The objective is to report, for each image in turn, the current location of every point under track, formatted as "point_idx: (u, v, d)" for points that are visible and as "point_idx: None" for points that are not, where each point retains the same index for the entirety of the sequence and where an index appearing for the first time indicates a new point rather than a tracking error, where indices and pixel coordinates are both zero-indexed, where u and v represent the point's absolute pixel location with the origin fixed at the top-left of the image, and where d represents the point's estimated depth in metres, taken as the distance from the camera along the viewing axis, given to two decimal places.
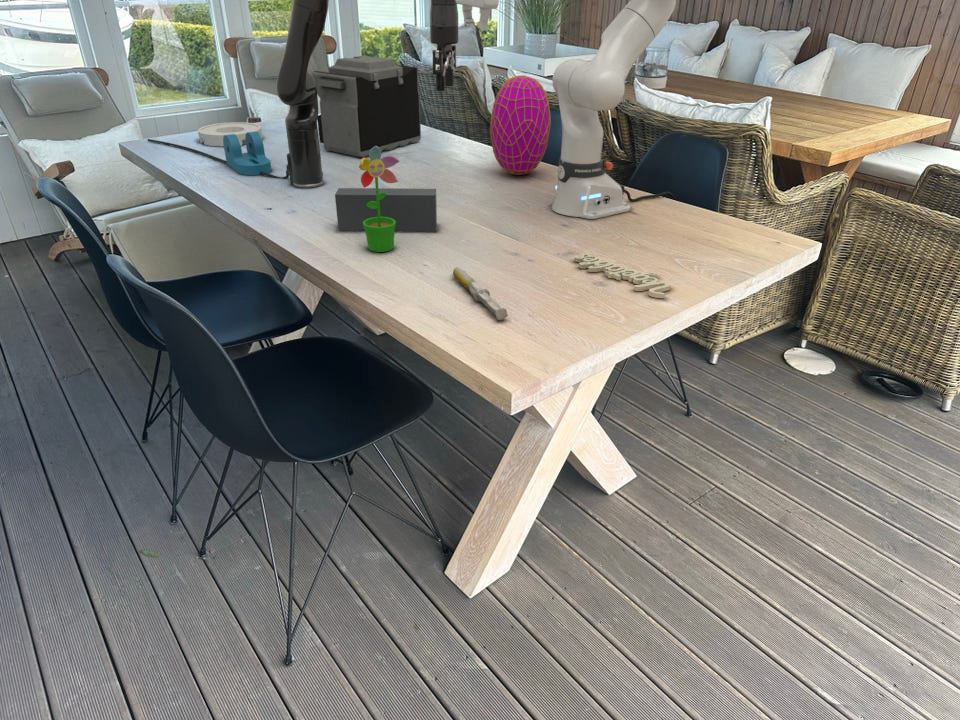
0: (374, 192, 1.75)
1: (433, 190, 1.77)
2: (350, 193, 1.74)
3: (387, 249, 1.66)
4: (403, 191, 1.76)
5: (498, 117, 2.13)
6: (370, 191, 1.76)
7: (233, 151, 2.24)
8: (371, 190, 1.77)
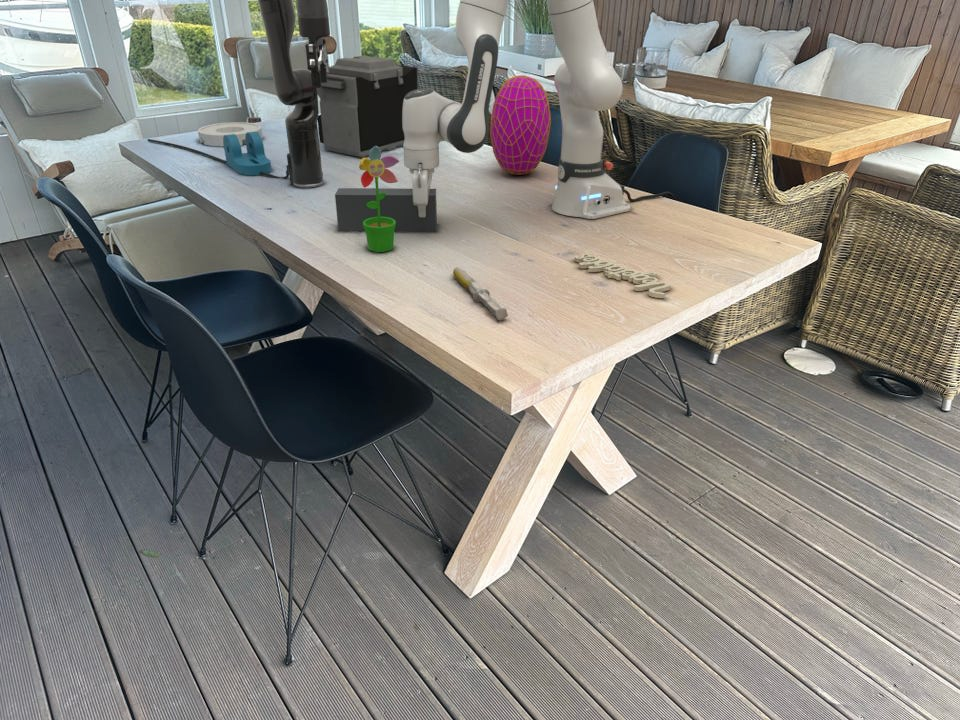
0: (374, 192, 1.75)
1: (433, 190, 1.77)
2: (350, 193, 1.74)
3: (387, 249, 1.66)
4: (403, 191, 1.76)
5: (498, 117, 2.13)
6: (370, 191, 1.76)
7: (233, 151, 2.24)
8: (371, 190, 1.77)
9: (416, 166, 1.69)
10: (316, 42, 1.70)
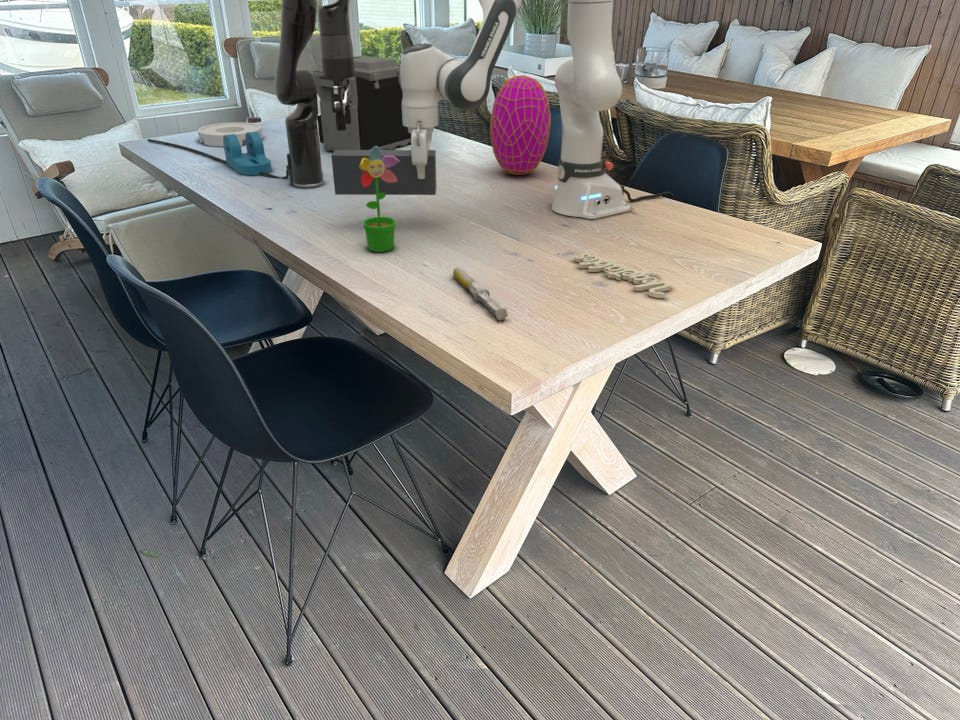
0: None
1: (432, 151, 1.72)
2: (347, 154, 1.69)
3: (387, 249, 1.66)
4: (401, 152, 1.71)
5: (498, 117, 2.13)
6: (367, 152, 1.71)
7: (233, 151, 2.24)
8: (368, 151, 1.72)
9: (415, 125, 1.64)
10: (341, 83, 1.61)
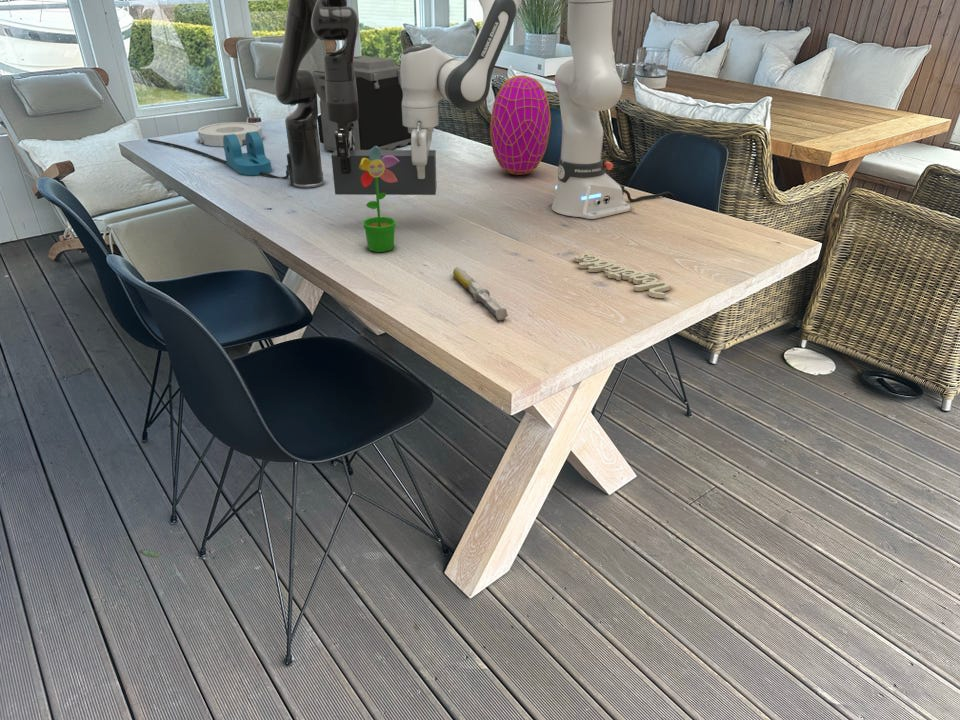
0: None
1: (432, 151, 1.72)
2: None
3: (387, 249, 1.66)
4: (401, 152, 1.71)
5: (498, 117, 2.13)
6: (367, 152, 1.71)
7: (233, 151, 2.24)
8: (369, 151, 1.72)
9: (415, 125, 1.64)
10: (345, 128, 1.64)
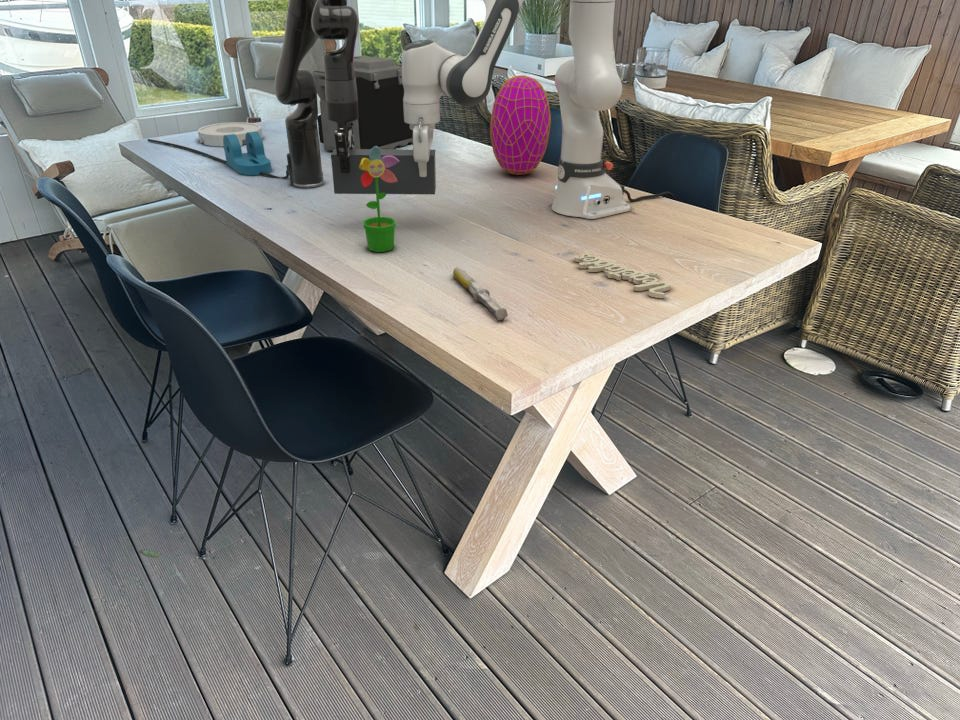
0: None
1: (432, 151, 1.73)
2: None
3: (387, 249, 1.66)
4: (401, 152, 1.71)
5: (498, 117, 2.13)
6: (367, 151, 1.71)
7: (233, 151, 2.24)
8: (368, 151, 1.72)
9: (416, 121, 1.63)
10: (345, 127, 1.64)
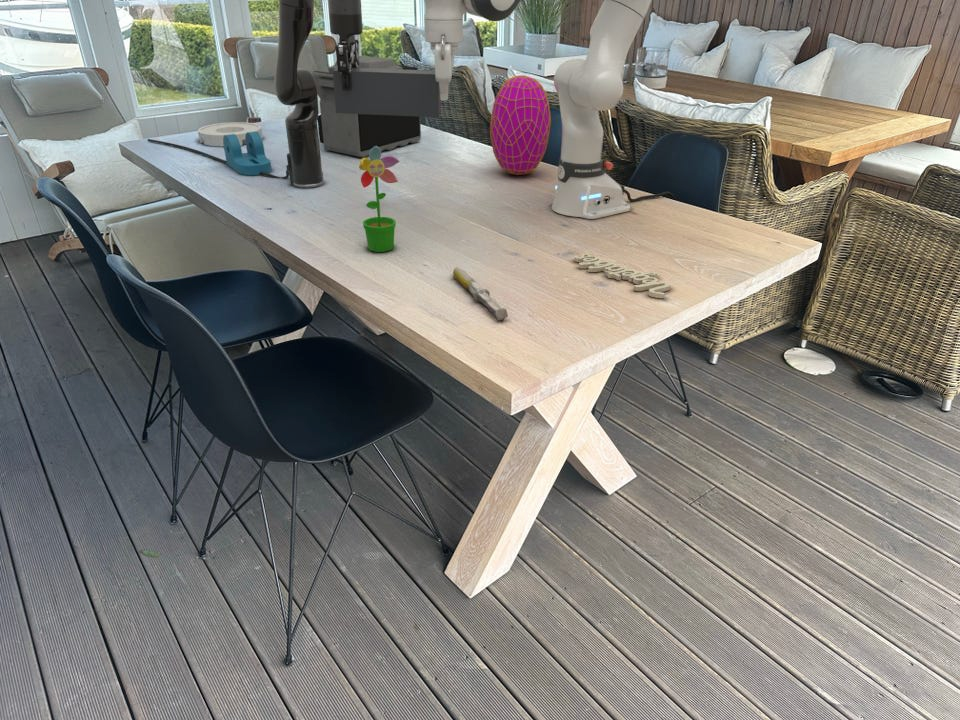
0: (374, 70, 1.65)
1: None
2: None
3: (387, 249, 1.66)
4: (405, 71, 1.66)
5: (498, 117, 2.13)
6: (370, 69, 1.66)
7: (233, 151, 2.24)
8: (372, 69, 1.67)
9: (438, 39, 1.54)
10: (347, 41, 1.59)
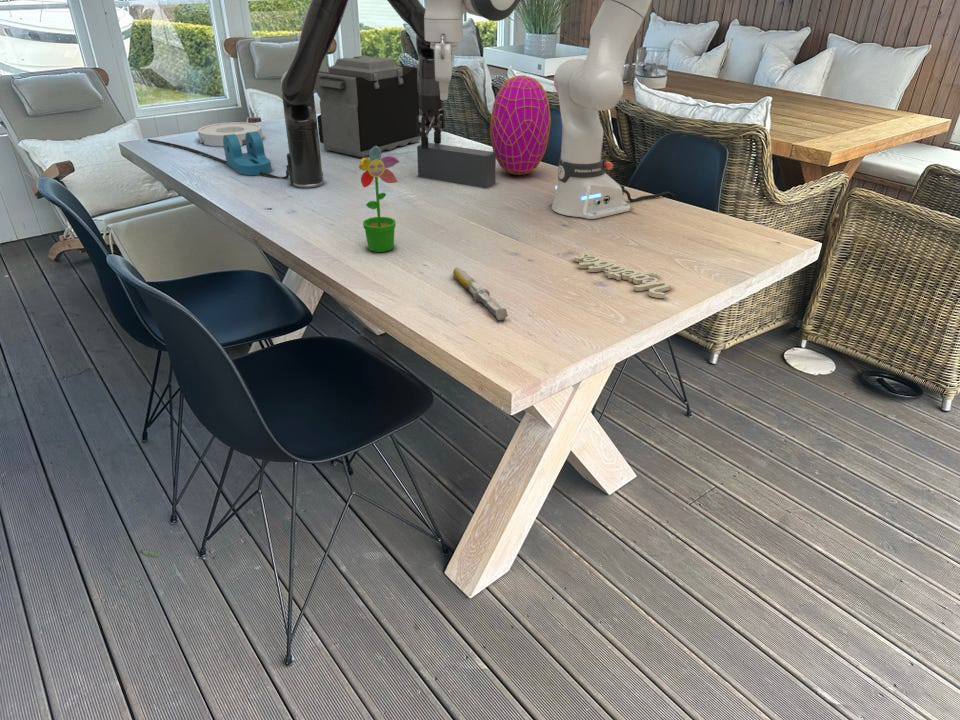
0: (446, 148, 2.16)
1: (491, 153, 2.12)
2: (428, 146, 2.18)
3: (387, 249, 1.66)
4: (468, 150, 2.14)
5: (498, 117, 2.13)
6: (445, 147, 2.17)
7: (233, 151, 2.24)
8: (446, 146, 2.18)
9: (438, 38, 1.54)
10: (427, 114, 2.11)
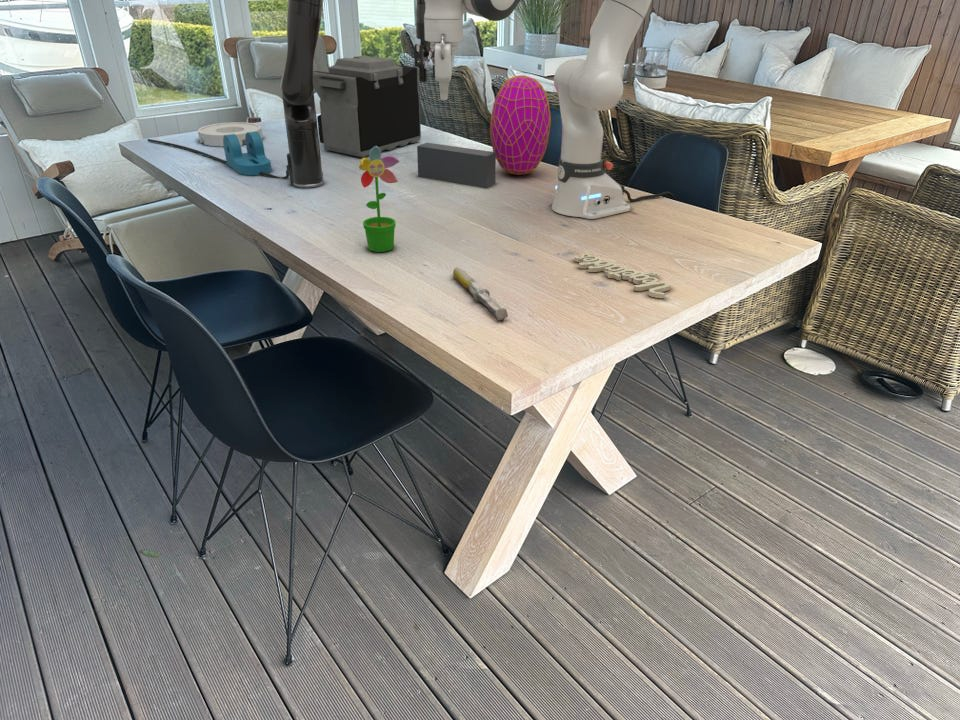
0: (446, 148, 2.16)
1: (491, 152, 2.12)
2: (428, 146, 2.18)
3: (387, 249, 1.66)
4: (468, 150, 2.14)
5: (498, 117, 2.13)
6: (445, 147, 2.17)
7: (233, 151, 2.24)
8: (446, 146, 2.18)
9: (438, 38, 1.54)
10: (425, 43, 2.01)
